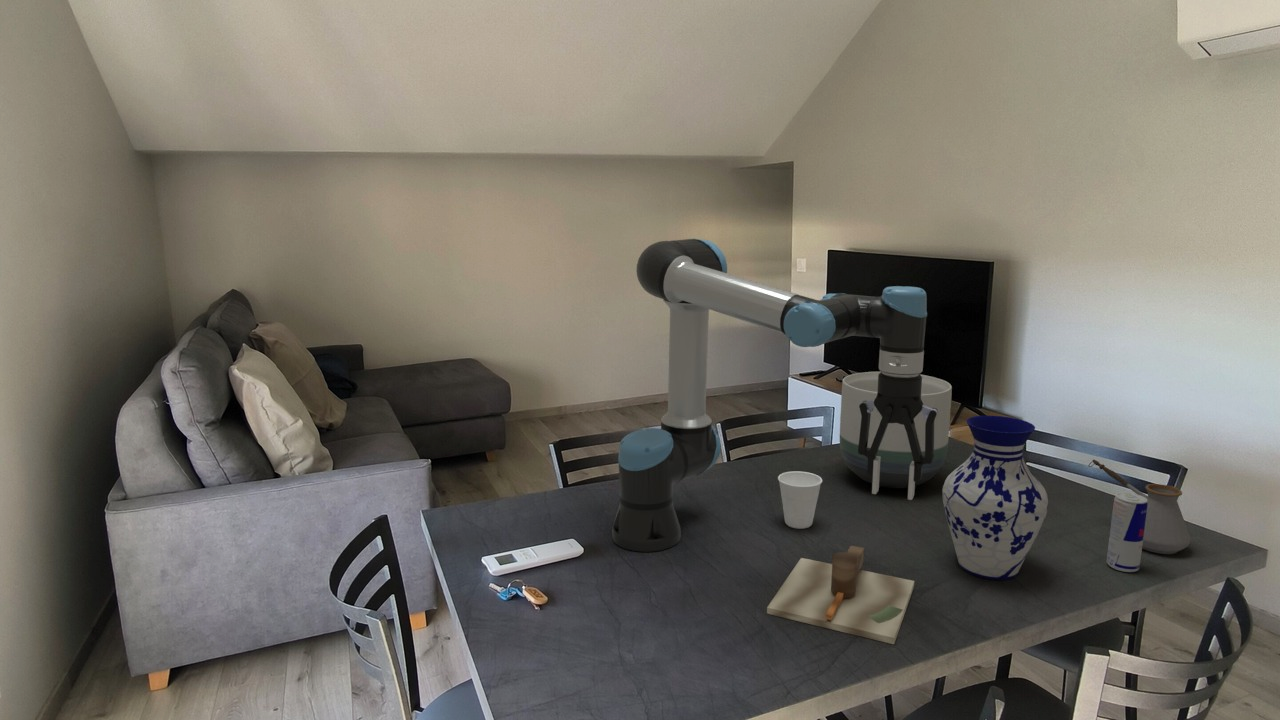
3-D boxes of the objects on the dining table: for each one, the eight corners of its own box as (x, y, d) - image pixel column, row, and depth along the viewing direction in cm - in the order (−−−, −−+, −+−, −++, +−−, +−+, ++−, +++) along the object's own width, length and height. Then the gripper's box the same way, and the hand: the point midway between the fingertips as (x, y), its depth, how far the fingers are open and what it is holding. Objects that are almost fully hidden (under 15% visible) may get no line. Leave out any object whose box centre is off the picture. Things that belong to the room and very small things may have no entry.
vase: (1035, 600, 141) (1051, 444, 135) (928, 574, 151) (938, 428, 145) (1044, 559, 157) (1059, 418, 151) (947, 539, 166) (957, 406, 161)
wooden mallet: (841, 623, 131) (843, 586, 129) (815, 617, 133) (817, 580, 131) (867, 568, 150) (869, 536, 149) (845, 563, 152) (846, 531, 151)
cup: (821, 534, 170) (823, 487, 167) (775, 531, 172) (777, 484, 169) (820, 517, 179) (821, 472, 177) (777, 514, 181) (778, 469, 179)
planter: (832, 463, 216) (836, 370, 211) (931, 467, 212) (938, 372, 207) (844, 499, 190) (848, 393, 185) (956, 503, 186) (965, 396, 181)
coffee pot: (1200, 550, 160) (1210, 482, 157) (1170, 563, 155) (1180, 493, 152) (1098, 515, 178) (1105, 454, 175) (1068, 525, 173) (1075, 462, 170)
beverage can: (1128, 576, 149) (1137, 504, 146) (1100, 564, 154) (1108, 494, 151) (1145, 569, 152) (1154, 498, 149) (1116, 558, 157) (1125, 489, 154)
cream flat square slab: (766, 613, 137) (767, 607, 137) (801, 563, 156) (801, 557, 156) (894, 644, 127) (894, 637, 127) (914, 586, 146) (914, 580, 146)
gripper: (843, 372, 139) (837, 492, 143) (953, 382, 130) (944, 510, 135) (852, 364, 145) (846, 480, 150) (958, 373, 137) (948, 495, 141)
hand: (892, 494), depth 142 cm, fingers open, 6 cm apart
